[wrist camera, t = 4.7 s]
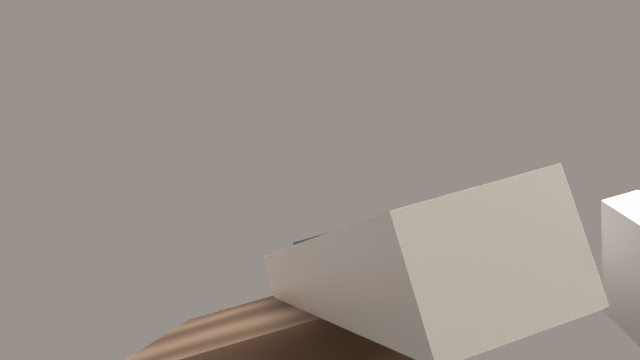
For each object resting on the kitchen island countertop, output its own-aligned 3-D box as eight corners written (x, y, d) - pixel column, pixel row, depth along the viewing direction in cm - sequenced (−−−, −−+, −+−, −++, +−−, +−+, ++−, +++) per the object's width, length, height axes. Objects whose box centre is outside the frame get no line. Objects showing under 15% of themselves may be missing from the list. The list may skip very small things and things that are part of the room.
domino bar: (609, 307, 9) (558, 157, 9) (437, 369, 8) (387, 204, 8) (324, 281, 32) (313, 240, 32) (273, 297, 31) (262, 254, 32)
